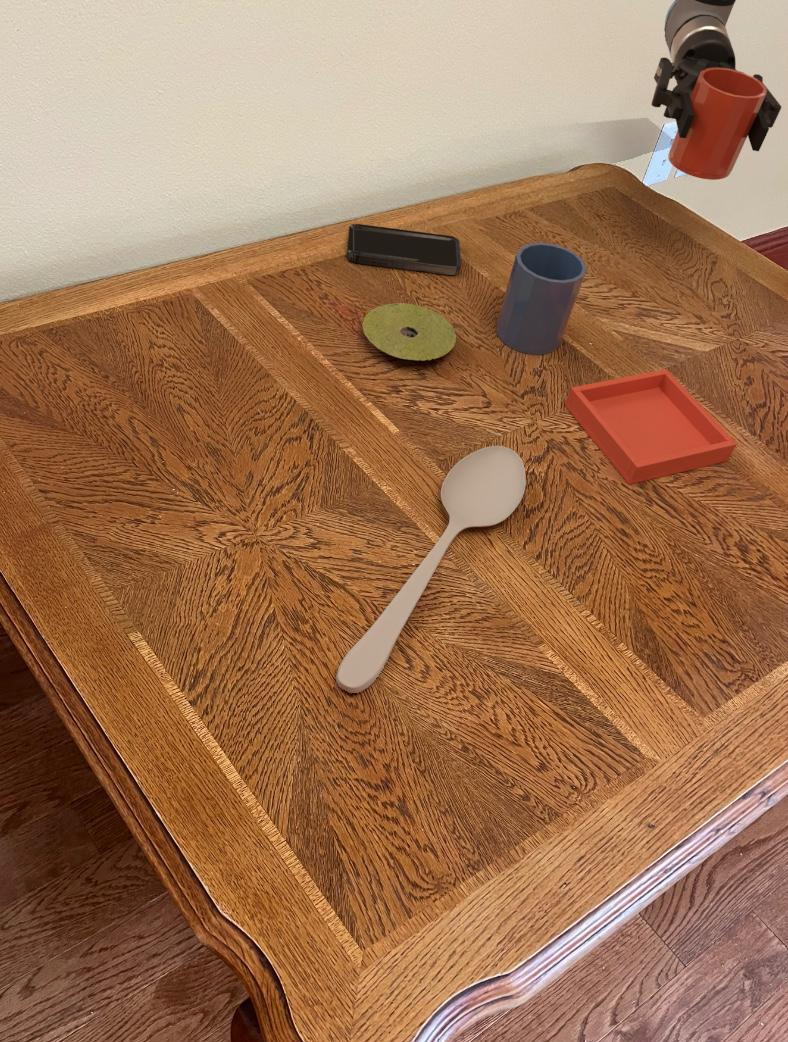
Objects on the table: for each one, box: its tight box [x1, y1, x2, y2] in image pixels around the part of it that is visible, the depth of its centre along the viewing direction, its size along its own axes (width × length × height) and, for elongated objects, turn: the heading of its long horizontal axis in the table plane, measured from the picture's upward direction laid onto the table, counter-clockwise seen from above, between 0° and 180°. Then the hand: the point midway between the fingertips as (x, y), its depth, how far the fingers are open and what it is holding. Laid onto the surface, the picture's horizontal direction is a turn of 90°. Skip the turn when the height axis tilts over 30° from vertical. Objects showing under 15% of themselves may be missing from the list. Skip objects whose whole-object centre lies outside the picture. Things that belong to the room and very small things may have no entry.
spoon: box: [335, 445, 527, 694], centre depth 90 cm, size 35×8×3 cm, turn 150°
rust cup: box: [667, 67, 768, 181], centre depth 117 cm, size 8×8×10 cm
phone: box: [346, 223, 462, 276], centre depth 125 cm, size 8×1×15 cm
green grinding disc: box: [362, 302, 457, 362], centre depth 112 cm, size 11×11×2 cm
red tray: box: [564, 368, 738, 485], centre depth 106 cm, size 14×14×3 cm
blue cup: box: [495, 242, 588, 356], centre depth 113 cm, size 8×8×10 cm
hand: (724, 133), depth 114 cm, fingers closed on rust cup, 8 cm apart
